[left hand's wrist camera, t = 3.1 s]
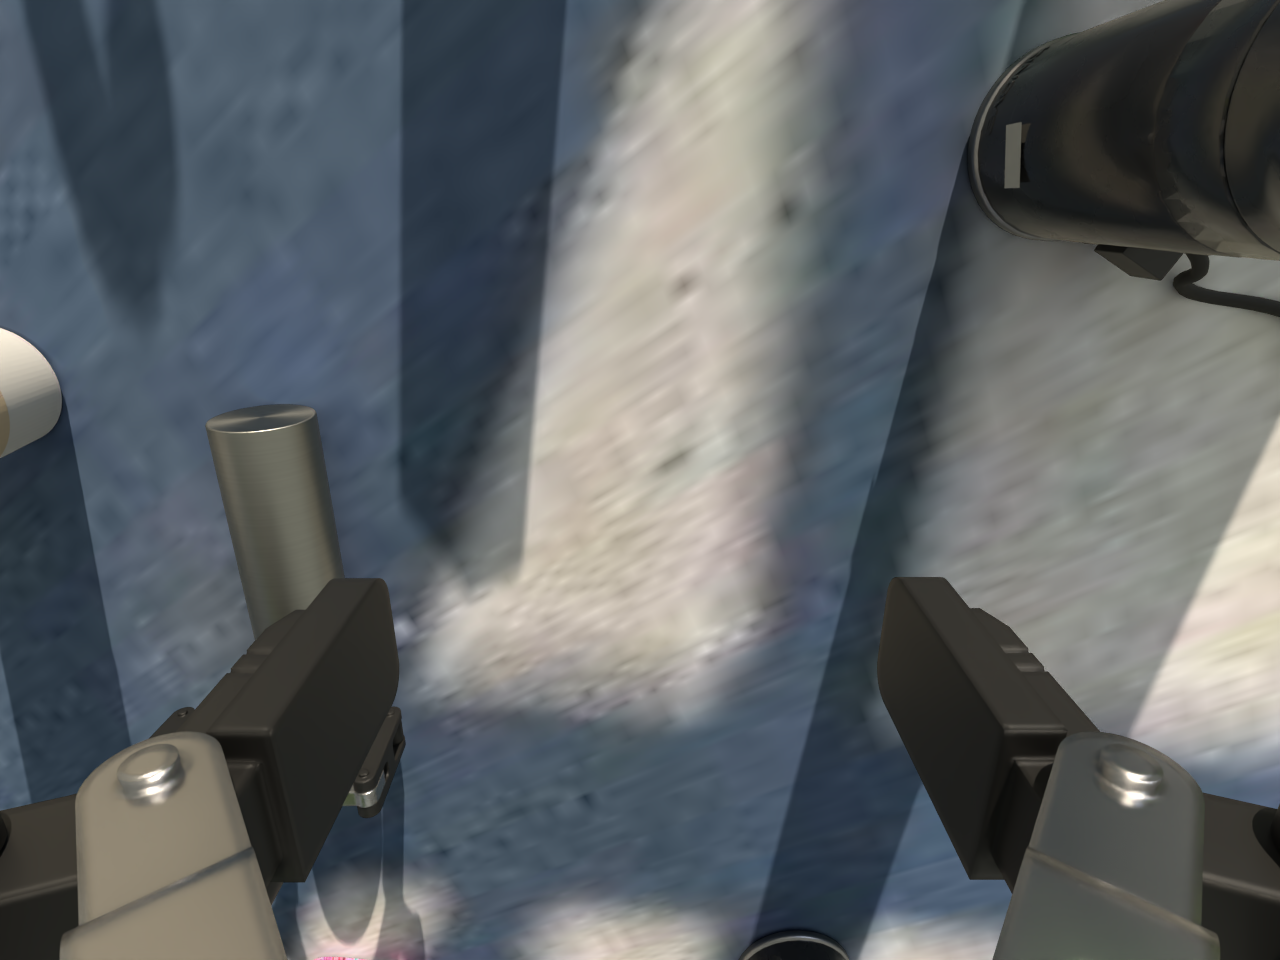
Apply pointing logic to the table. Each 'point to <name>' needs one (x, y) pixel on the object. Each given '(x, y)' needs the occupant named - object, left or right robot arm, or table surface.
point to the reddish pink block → (336, 958)
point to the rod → (276, 507)
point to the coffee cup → (25, 394)
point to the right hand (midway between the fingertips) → (324, 677)
